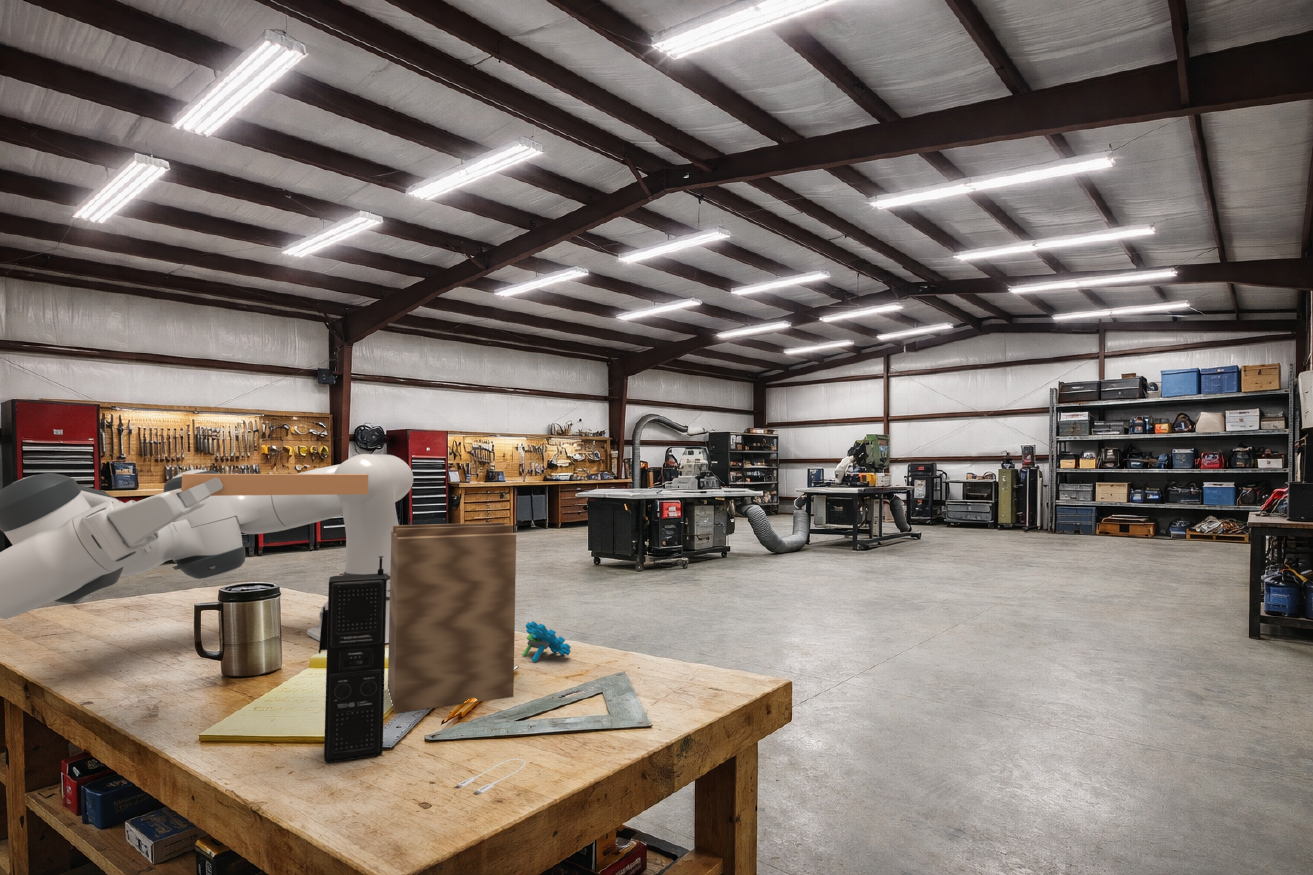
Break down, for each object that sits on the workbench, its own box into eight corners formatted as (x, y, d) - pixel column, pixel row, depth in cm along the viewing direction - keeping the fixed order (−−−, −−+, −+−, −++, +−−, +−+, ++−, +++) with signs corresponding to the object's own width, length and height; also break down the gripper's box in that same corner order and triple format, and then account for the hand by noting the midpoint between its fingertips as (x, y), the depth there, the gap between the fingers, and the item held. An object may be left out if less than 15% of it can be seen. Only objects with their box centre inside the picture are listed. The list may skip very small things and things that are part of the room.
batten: (181, 495, 96) (182, 474, 96) (185, 494, 99) (186, 473, 99) (367, 494, 106) (368, 474, 106) (366, 493, 109) (367, 474, 109)
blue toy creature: (582, 651, 132) (548, 619, 128) (565, 678, 128) (530, 646, 124) (550, 647, 140) (518, 617, 136) (534, 673, 136) (500, 642, 133)
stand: (394, 713, 103) (398, 530, 104) (387, 689, 114) (391, 524, 115) (513, 696, 111) (516, 527, 112) (496, 675, 122) (499, 521, 123)
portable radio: (314, 767, 85) (320, 563, 86) (317, 748, 90) (322, 557, 91) (383, 756, 88) (387, 560, 89) (381, 739, 94) (385, 554, 94)
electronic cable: (452, 789, 80) (452, 785, 80) (510, 758, 89) (510, 754, 89) (478, 798, 78) (478, 794, 78) (534, 765, 87) (534, 761, 87)
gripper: (149, 542, 104) (243, 496, 109) (111, 562, 86) (226, 505, 91) (125, 506, 103) (221, 461, 108) (81, 518, 84) (199, 463, 90)
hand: (223, 481), depth 99 cm, fingers closed on batten, 3 cm apart
